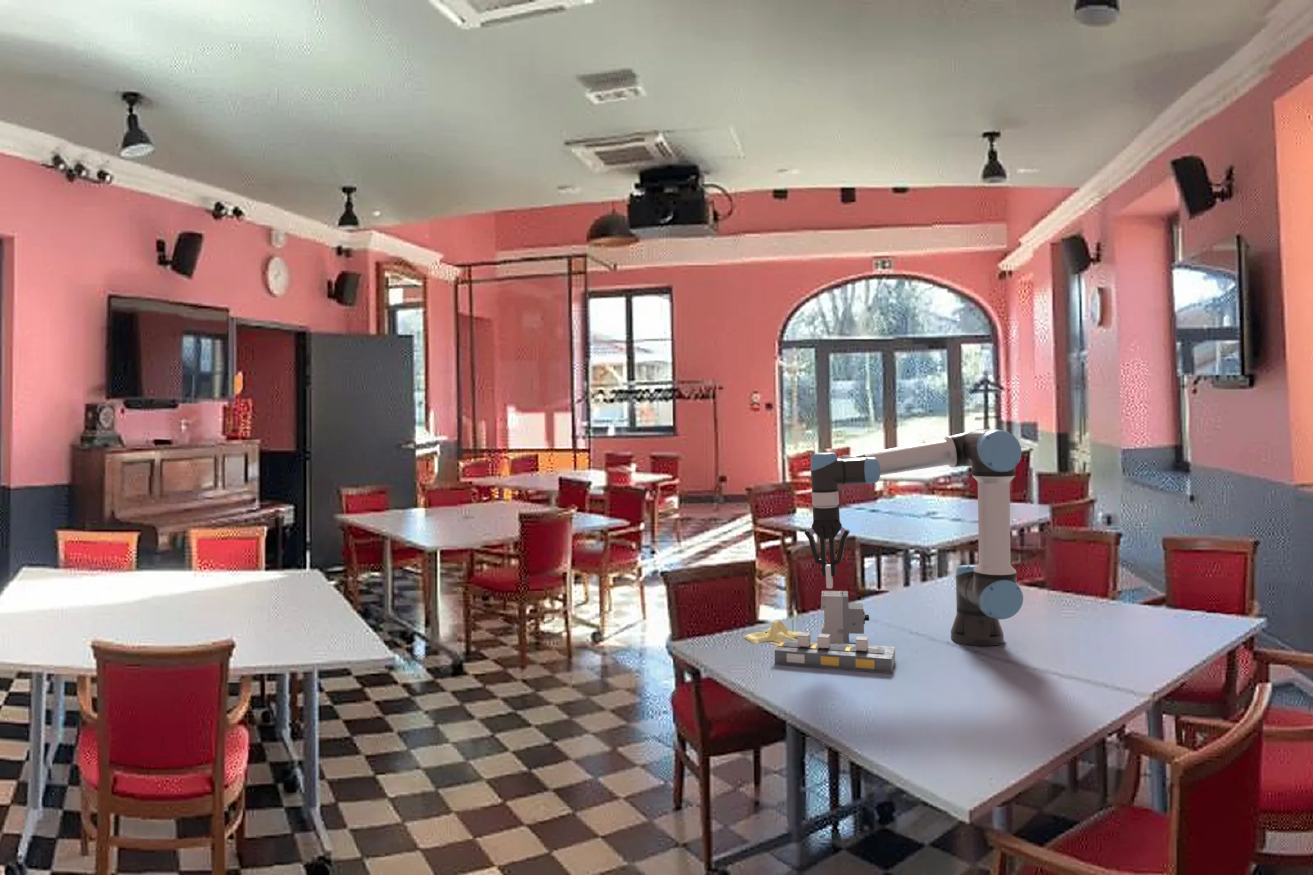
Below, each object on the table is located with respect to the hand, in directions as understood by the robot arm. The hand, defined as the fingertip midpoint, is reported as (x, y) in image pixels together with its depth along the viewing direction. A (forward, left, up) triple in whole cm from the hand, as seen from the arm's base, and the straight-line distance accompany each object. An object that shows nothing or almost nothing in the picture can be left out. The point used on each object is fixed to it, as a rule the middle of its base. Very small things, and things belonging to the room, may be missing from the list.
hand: (829, 587), depth 244 cm
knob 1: (+7, +6, -16) cm, 18 cm away
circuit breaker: (-2, -16, -20) cm, 26 cm away
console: (-2, +6, -20) cm, 21 cm away
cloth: (+18, -15, -21) cm, 32 cm away
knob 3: (-9, +6, -16) cm, 19 cm away
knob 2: (+1, +6, -16) cm, 17 cm away
